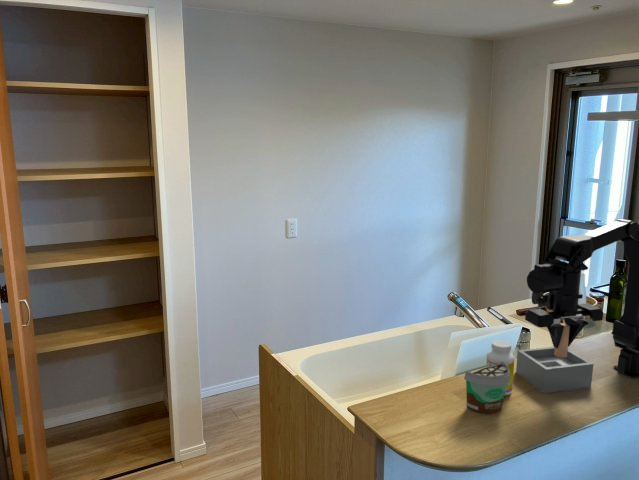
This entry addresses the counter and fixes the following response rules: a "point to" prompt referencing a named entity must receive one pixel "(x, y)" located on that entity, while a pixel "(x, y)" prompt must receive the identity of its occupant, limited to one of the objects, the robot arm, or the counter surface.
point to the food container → (487, 389)
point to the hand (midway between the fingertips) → (561, 346)
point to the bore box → (554, 370)
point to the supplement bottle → (502, 359)
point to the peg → (563, 343)
